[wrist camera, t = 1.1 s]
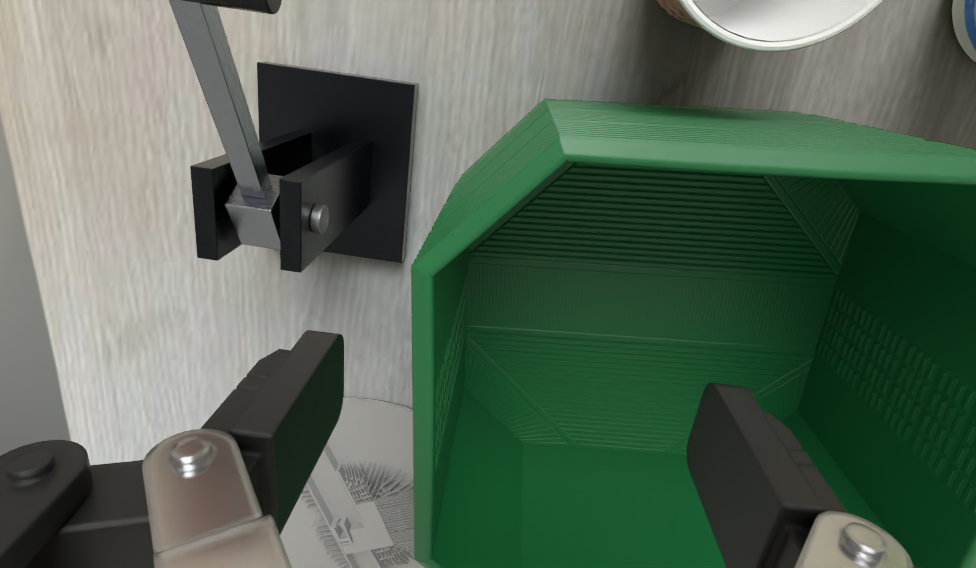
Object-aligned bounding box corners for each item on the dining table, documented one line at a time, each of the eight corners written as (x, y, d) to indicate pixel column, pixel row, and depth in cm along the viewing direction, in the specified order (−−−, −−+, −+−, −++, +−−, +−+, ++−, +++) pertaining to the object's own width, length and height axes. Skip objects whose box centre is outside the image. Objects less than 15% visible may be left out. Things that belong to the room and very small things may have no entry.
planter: (463, 92, 36) (408, 128, 19) (876, 113, 35) (1199, 171, 18) (454, 424, 46) (413, 637, 29) (775, 448, 45) (923, 684, 28)
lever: (104, -74, 19) (63, -43, 17) (281, -49, 19) (254, -15, 17) (222, 205, 29) (202, 239, 28) (335, 221, 29) (321, 256, 28)
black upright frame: (265, 61, 36) (123, 67, 23) (418, 83, 36) (359, 100, 23) (269, 237, 41) (153, 321, 28) (405, 256, 41) (350, 350, 28)
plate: (160, 433, 48) (151, 442, 47) (467, 365, 44) (466, 374, 43) (289, 647, 58) (284, 659, 57) (551, 610, 54) (552, 622, 53)
